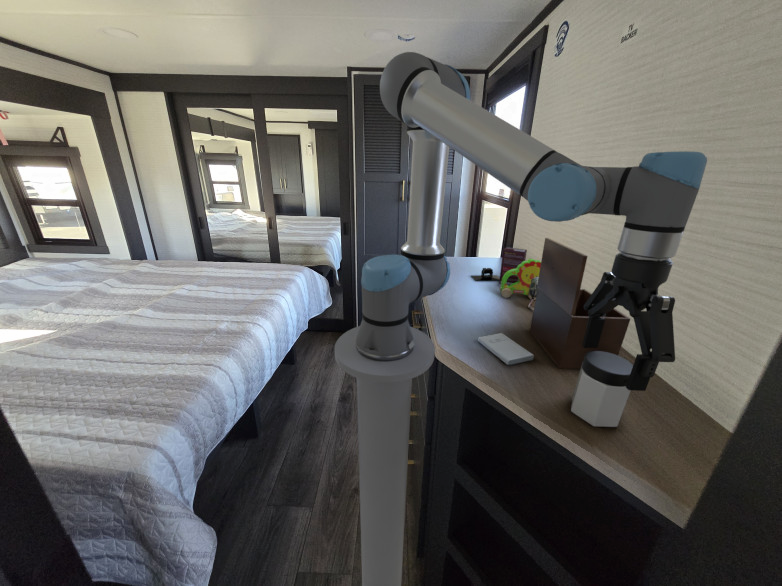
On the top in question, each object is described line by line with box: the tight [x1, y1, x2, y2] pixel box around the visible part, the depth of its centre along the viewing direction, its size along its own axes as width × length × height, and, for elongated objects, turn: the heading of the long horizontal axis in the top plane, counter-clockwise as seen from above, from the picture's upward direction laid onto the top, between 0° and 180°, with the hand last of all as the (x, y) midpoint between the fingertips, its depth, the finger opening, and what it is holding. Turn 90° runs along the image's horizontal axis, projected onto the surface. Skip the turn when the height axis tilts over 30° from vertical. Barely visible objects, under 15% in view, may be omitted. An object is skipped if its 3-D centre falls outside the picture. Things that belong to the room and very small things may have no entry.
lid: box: [537, 237, 588, 315], centre depth 78 cm, size 14×19×1 cm
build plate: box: [470, 267, 500, 282], centre depth 140 cm, size 12×7×5 cm, turn 95°
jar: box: [570, 351, 634, 428], centre depth 60 cm, size 9×8×12 cm
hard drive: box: [477, 332, 535, 366], centre depth 84 cm, size 2×8×12 cm
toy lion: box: [499, 258, 541, 301], centre depth 118 cm, size 16×5×15 cm, turn 81°
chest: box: [529, 288, 631, 370], centre depth 83 cm, size 13×19×14 cm
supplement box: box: [498, 246, 528, 287], centre depth 129 cm, size 9×5×16 cm, turn 59°
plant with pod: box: [527, 276, 539, 312], centre depth 106 cm, size 8×11×20 cm
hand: (609, 365), depth 58 cm, fingers open, 13 cm apart
